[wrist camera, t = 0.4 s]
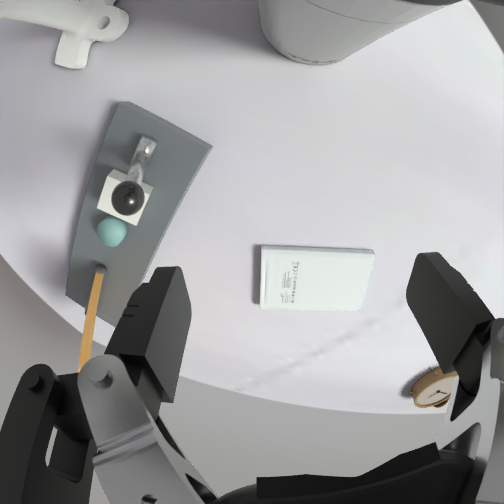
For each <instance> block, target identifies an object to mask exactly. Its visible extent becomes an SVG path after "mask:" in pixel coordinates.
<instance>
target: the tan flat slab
mask: <svg viewBox="0 0 504 504" xmlns="http://www.w3.org/2000/svg"><path fill="white" fill-rule="evenodd" d="M106 273H107V268H106V266H105V265H103V264H97V265H95V268H94V272H93V276H92V280H91V285H90V289H89V294H88V298H87V303H86V308H85V315H86V319H85V325H84V331H83V337H82V344H81V351H80V359H79V368H78V373H79V372H80V370H81V368H82V367H83V365H84V364H85V363H86V362H87V361H89V360H90V355H91V346H92V338H93V331H94V324H95V318H96V312H97V306H98V301H99V297H100V294H101V290H102V286H103V283H104V279H105V276H106Z"/></svg>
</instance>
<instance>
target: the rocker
mask: <svg viewBox="0 0 504 504" xmlns="http://www.w3.org/2000/svg"><path fill="white" fill-rule="evenodd" d="M126 177H127V175H126V174H124V173H122V172H120V171H118V170H115V169H113V170H112V171H111V172H110V174H109V175H108V176H107V178H106V181H105V184H104V187H103V190H102V193H101V196H100V199H99V202H98V206H97V208H98V209H100V210H102V211H104V212H106V213H109V214H111V215H113V216H115V217H117V218H120V219H122V220H124V221H126V222H129V223H131V224H133V225H135V226H137V223H138V221H139V219H140V217H141V215H142V212H143V210H144V208H145V205H146V203H147V201H148V199H149V196H150V194H151V192H152V190H153V188H154V187H152V186H150V185H148V184H146V183H144V182H141V187H142V189H143V191H144V195H145V200H144V204H143V206H142V208H141V209H140V210H139V211H138V212H137V213H136V214H134V215H130V216H124V215H121V214H119V213H117V212H116V211H115V209H114V208H113V206H112V203H111V195H112V192H113V190H114V188H115V187H116V186H117V185H118V184H120V183H121V182H124V181H125V179H126Z"/></svg>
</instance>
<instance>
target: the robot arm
mask: <svg viewBox="0 0 504 504" xmlns="http://www.w3.org/2000/svg"><path fill="white" fill-rule="evenodd" d="M459 1H462V0H258V9H259V16H260V23H261V28H262V31H263V33H264V35H265V37H266V39H267V40H268V42H269V43H270V44H271V46H272V47H273V48H275V49H276V50H277V51H278V52H279V53H281V54H282V55H284V56H286V57H287V58H289V59H291V60H294V61H297V62H299V63H304V64H308V65H328V64H333V63H336V62H339V61H341V60H343V59H344V58H346V57H348V56H349V55H351V54H353V53H355V52H357V51H358V50H360V49H362V48H364V47H365V46H367V45H369V44H370V43H372V42H374V41H376V40H378V39H379V38H381V37H383V36H385V35H387V34H389V33H391V32H393V31H395V30H396V29H398V28H400V27H402V26H404V25H406V24H409V23H411V22H413V21H415V20H417V19H419V18H421V17H423V16H425V15H427V14H430V13H432V12H434V11H437V10H439V9H441V8H444V7H446V6H449V5H451V4H453V3H456V2H459ZM478 1H483V2H488V3H491V4H495V5H500V6H504V0H478ZM473 290H474V289H473V288H472V287H471V286H470V284H467V281H466V279H465V278H464V277H463V276H462V275H461V273H460V272H458V271H457V270H456V269H454V268H453V267H451V266H450V265H449V263H448V262H447V261H446V260H445V259H444V258H443V257H442V255H441V254H440V253H438V252H429V253H419V254H418V255H417V257H416V259H415V263H414V266H413V270H412V273H411V276H410V280H409V283H408V286H407V290H406V299H407V303H408V305H409V307H410V309H411V311H412V313H413V314H414V316H415V318H416V320H417V322H418V324H419V325H420V327H421V329H422V331H423V333H424V335H425V337H426V339H427V341H428V343H429V345H430V347H431V349H432V351H433V353H434V355H435V357H436V359H437V361H438V363H439V365H440V368H441V370H442V372H443V374H444V375H445V374H448V373H451V372H454V371H456V372H457V374H458V375H457V376H456V377H455V379H454V382H453V386H452V391H451V395H450V399H449V403H448V407H447V411H446V415H445V418H444V422H443V425H442V428H441V430H440V431H439V433H438V434H437V436H436V437H435V438H434V440H433V442H432V443H431V444H429V445H426V446H423V447H421V448H418V449H415V450H412V451H409V452H406V453H403V454H400V455H398V456H397V457H395V458H393V459H391V460H389V461H388V462H386V463H384V464H382V465H380V466H379V467H377V468H375V469H373V470H371V471H369V472H367V473H365V474H363V475H360V476H357V477H334V476H320V475H308V474H304V475H295V476H280V477H257V484H253V485H249V486H245V487H243V488H240V489H236V490H234V491H232V492H229V493H227V494H225V495H223V496H221V497H220V498H219V497H218V496H217V494H216V493H215V492H214V491H213V489H212V488H211V487H210V486H209V484H208V483H207V482H206V481H205V479H204V478H203V477H202V476H201V474H200V473H199V472H198V471H197V470H196V469H195V467H194V466H193V465H192V464H191V462H190V461H189V460H188V458H187V457H186V455H185V454H184V452H183V451H182V450H181V448H180V446H179V445H178V443H177V442H176V440H175V439H174V437H173V435H172V434H171V432H170V431H169V429H168V427H167V426H166V424H165V423H164V421H163V419H162V417H161V415H160V414H159V409H160V404H161V402H167V403H173V401H174V396H175V391H176V386H177V381H178V376H179V372H180V367H181V362H182V358H183V353H184V348H185V344H186V339H187V335H188V331H189V326H190V322H191V303H190V299H189V295H188V292H187V288H186V284H185V280H184V276H183V272H182V270H181V268H180V267H179V266H175V267H157V268H156V269H155V271H154V273H153V275H152V277H151V279H150V281H149V283H142V284H141V285H140V286H139V287H138V288H137V289H136V290H135V291H134V292H133V293H132V295H131V297H130V299H129V301H128V303H127V307H125V309H124V311H123V313H122V317H120V320H119V322H118V324H117V326H116V328H115V330H114V332H113V335H112V337H111V339H110V341H109V344H108V346H107V348H106V350H105V353H104V355H99V356H96V357H94V358H92V359H90V360H89V361H87V362H86V363H85V364H84V365H83V367H82V368H81V370H80V372H79V373H73V374H65V375H58V376H57V375H56V374H55V373H54V372H53V370H52V369H51V368H50V367H49V366H47V365H45V364H36V365H34V366H32V367H30V368H29V369H28V370H26V371H25V373H24V374H23V376H22V377H21V379H20V381H19V384H18V386H17V388H16V391H15V393H14V396H13V398H12V401H11V403H10V406H9V408H8V411H7V414H6V416H5V419H4V422H3V425H2V428H1V431H0V504H89V497H90V490H91V483H92V476H93V470H94V469H95V471H96V473H97V476H98V479H99V481H100V483H101V485H102V487H103V490H104V491H105V494H106V495H107V498H108V500H109V502H110V504H504V318H497V319H495V318H494V316H493V315H492V314H491V312H490V311H489V309H488V308H487V307H486V305H485V304H484V303H483V301H482V300H481V299H480V297H479V296H478V295H477V293H476V292H474V291H473ZM53 426H54V427H55V428H56V429H57V430H58V431H57V435H56V438H55V442H54V446H53V450H52V454H51V458H50V462H49V466H48V467H47V465H46V462H45V456H46V451H47V448H48V444H49V440H50V437H51V433H52V429H53ZM97 449H98V453H97ZM474 458H475V460H474Z"/></svg>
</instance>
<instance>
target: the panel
mask: <svg viewBox="0 0 504 504" xmlns="http://www.w3.org/2000/svg"><path fill="white" fill-rule="evenodd" d="M143 135H147V136H151V137H153V138H155V139H156V140H157V141H158V144H157V146H156V148H155V150H154V152H153V154H152V156H151V158H150V160H149V162H148V165H147V167H146V169H145V172H144V175H143V179H142V182H144V183H146V184H148V185H150V186H152V187H154V188H153V190H152V192H151V194H150V196H149V199H148V201H147V203H146V205H145V208H144V210H143V212H142V215H141V217H140V219H139V221H138V223H137V226H135V225H133V224H131V223H129V222H126V221H125V222H126V224H127V227H128V233H127V235H126V237H125V238H124V239H123V240H122V241H121V242H120V243H119V244H118V245H117V246H115V247H109V246H107V245H105V244H104V243H103V242H102V241H101V240H100V239H99V237H98V233H97V227H98V225H99V223H100V222H102V221H103V220H104V219H105V218H106V217H108V216H109V215H111V214H109V213H106V212H104V211H102V210H100V209H98V208H97V206H98V202H99V199H100V196H101V193H102V190H103V187H104V184H105V181H106V178H107V176H108V175H109V174H110V172H111V171H112V170H113V169H115V170H118V171H120V172H122V173H124V174H126V175H127V174H128V172H129V169H130V167H129V164H130V162H131V159H132V157H133V155H134V153H135V150H136V148H137V146H138V144H139V142H140V139H141V137H142V136H143ZM212 147H213V146H211V145H210V144H208V143H206V142H204V141H203V140H201V139H199V138H197V137H196V136H194V135H192V134H190V133H188V132H187V131H185V130H183V129H181V128H179V127H177V126H176V125H174V124H172V123H170V122H168V121H166V120H164V119H162V118H160V117H159V116H157V115H155V114H153V113H151V112H149V111H147V110H145V109H143V108H141V107H139V106H137V105H135V104H133V103H131V102H120V103H119V105H118V107H117V109H116V112H115V114H114V116H113V118H112V121H111V123H110V125H109V128H108V130H107V133H106V135H105V138H104V140H103V143H102V145H101V148H100V151H99V154H98V156H97V159H96V162H95V165H94V168H93V171H92V174H91V177H90V180H89V184H88V187H87V190H86V194H85V197H84V201H83V205H82V208H81V212H80V216H79V220H78V225H77V229H76V234H75V238H74V243H73V248H72V254H71V259H70V265H69V272H68V279H67V286H66V294H65V295H66V296H68V297H69V298H71V299H72V300H73V301H75V302H76V303H78V304H79V305H81V306H82V307H84V308H86V303H87V298H88V294H89V289H90V285H91V280H92V276H93V272H94V268H95V265H97V264H103V265H105V266H106V268H107V273H106V276H105V279H104V283H103V286H102V290H101V294H100V297H99V301H98V306H97V312H96V316H98V317H99V318H101V319H103V320H104V321H106V322H108V323H109V324H111V325H113V326H114V327H116V326H117V324H118V322H119V320H120V317H122V313H123V311H124V309H125V307H127V303H128V301H129V299H130V297H131V295H132V293H133V292H134V291H135V290H136V289H137V288H138V287H139V286H140V285H141V284H142V281H143V279H144V277H145V275H146V273H147V270H148V268H149V266H150V264H151V262H152V260H153V257H154V255H155V253H156V251H157V249H158V247H159V245H160V243H161V241H162V239H163V237H164V235H165V233H166V231H167V229H168V227H169V225H170V223H171V221H172V219H173V217H174V215H175V213H176V211H177V209H178V207H179V205H180V204H181V202H182V200H183V198H184V196H185V194H186V192H187V191H188V189H189V187H190V185H191V183H192V182H193V180H194V178H195V176H196V174H197V173H198V171H199V169H200V168H201V166H202V164H203V162H204V161H205V159H206V157H207V156H208V154H209V152H210V151H211V149H212Z"/></svg>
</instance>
